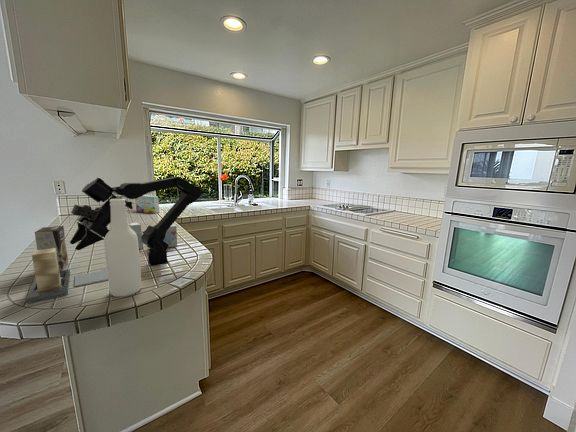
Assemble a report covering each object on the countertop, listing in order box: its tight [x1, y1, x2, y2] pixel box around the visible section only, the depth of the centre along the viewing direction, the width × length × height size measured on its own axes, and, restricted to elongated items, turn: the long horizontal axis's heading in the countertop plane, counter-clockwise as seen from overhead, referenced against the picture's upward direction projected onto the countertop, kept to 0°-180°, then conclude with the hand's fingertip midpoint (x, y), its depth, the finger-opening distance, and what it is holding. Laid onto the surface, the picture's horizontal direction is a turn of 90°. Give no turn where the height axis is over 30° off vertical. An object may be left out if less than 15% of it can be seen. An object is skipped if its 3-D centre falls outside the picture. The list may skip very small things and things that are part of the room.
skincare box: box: [129, 222, 144, 250], centre depth 123 cm, size 6×4×12 cm
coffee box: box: [34, 225, 70, 271], centre depth 95 cm, size 9×6×16 cm
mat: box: [74, 269, 108, 288], centre depth 90 cm, size 10×10×1 cm
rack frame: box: [25, 268, 71, 304], centre depth 83 cm, size 9×20×2 cm, turn 39°
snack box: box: [135, 194, 160, 215], centre depth 220 cm, size 21×6×15 cm, turn 72°
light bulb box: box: [163, 223, 178, 248], centre depth 127 cm, size 11×7×11 cm, turn 129°
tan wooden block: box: [31, 248, 62, 292], centre depth 79 cm, size 5×5×13 cm
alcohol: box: [103, 198, 143, 298], centre depth 78 cm, size 9×9×30 cm
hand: (73, 246), depth 84 cm, fingers open, 9 cm apart
